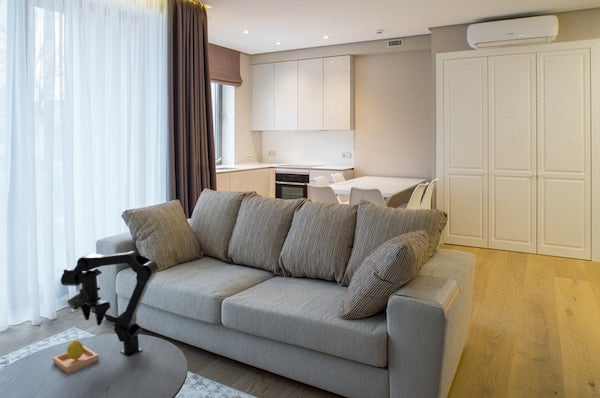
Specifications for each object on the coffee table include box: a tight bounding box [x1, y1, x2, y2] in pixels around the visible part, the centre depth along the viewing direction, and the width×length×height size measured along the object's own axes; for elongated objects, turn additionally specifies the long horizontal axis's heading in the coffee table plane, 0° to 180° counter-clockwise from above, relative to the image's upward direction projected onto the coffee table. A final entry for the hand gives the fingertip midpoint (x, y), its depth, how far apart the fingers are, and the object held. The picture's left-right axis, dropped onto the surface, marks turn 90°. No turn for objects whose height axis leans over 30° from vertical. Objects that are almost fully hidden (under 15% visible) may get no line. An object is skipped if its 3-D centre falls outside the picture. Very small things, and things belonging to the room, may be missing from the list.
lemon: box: [66, 340, 84, 360], centre depth 170 cm, size 6×6×8 cm
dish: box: [52, 345, 100, 374], centre depth 170 cm, size 12×12×2 cm
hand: (93, 322), depth 178 cm, fingers open, 9 cm apart
